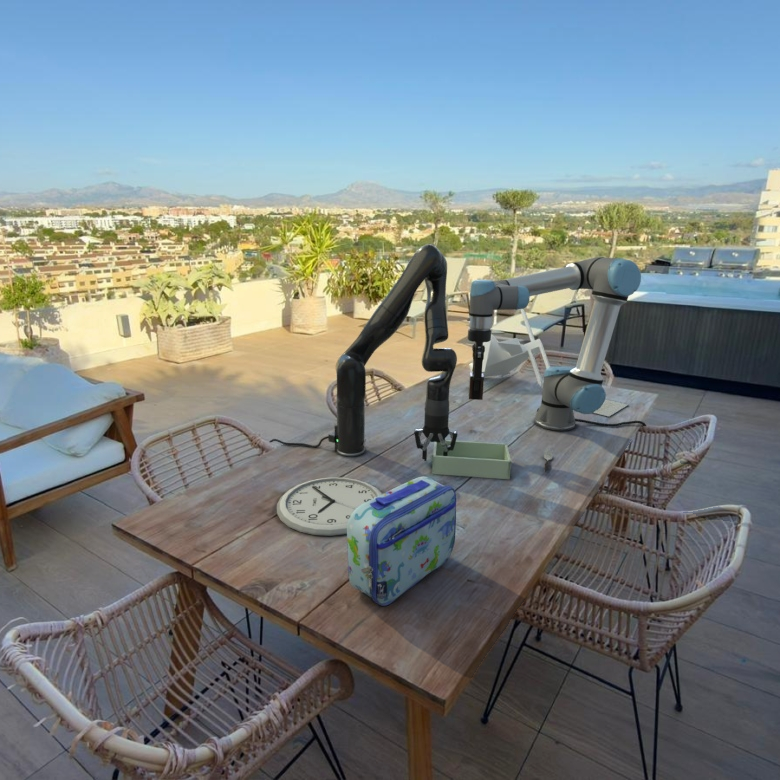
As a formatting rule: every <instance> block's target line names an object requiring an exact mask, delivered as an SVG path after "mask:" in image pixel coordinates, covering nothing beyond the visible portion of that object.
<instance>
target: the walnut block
mask: <svg viewBox="0 0 780 780" xmlns="http://www.w3.org/2000/svg"><path fill="white" fill-rule="evenodd" d="M473 375H474V373H471V372H469V381H468V383H469V384H468V400H472V399H471V398H472V382H473V381H471V379H473ZM481 378H482V380H481V388H480V400H479V401H483V399H484V384H485V377H484V374H483V373H482V377H481Z"/></svg>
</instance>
